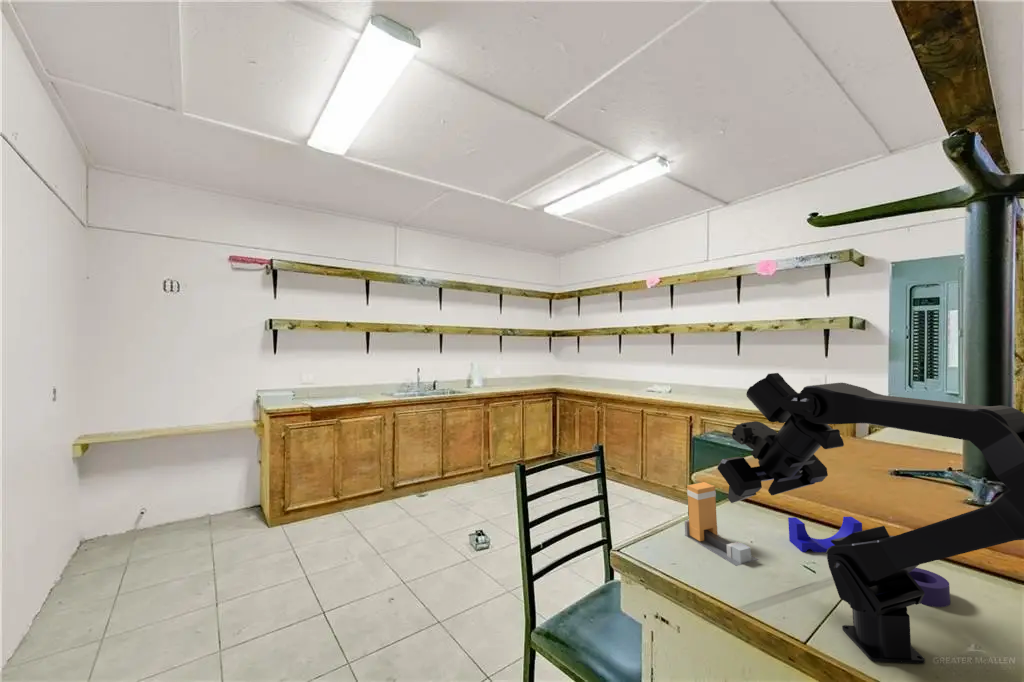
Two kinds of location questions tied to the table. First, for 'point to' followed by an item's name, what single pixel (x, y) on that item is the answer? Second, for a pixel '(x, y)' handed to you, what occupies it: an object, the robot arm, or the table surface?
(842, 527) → the cable clip
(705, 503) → the orange block
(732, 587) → the table surface
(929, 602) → the lever
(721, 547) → the grey pronged base
